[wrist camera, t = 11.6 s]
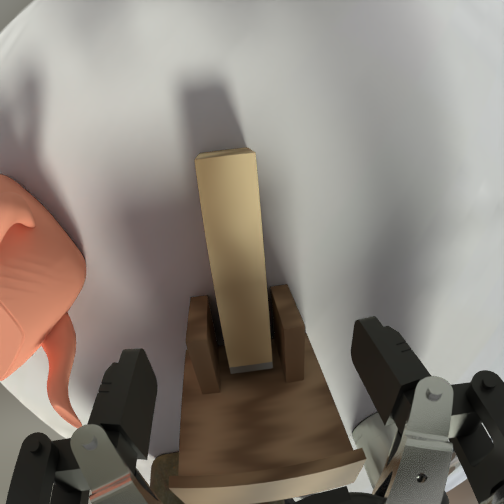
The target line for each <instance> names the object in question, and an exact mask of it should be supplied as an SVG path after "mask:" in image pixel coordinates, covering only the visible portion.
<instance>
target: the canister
mask: <svg viewBox="0 0 504 504" xmlns="http://www.w3.org/2000/svg"><path fill="white" fill-rule="evenodd" d="M178 471H179V452H176V453H170V454H164V455H160V456H158V457H157V458H156V459H155V460H154V461H153V463H152V467H151V479H150V487H151V489H152V490H153V491H154V493H155V494H156V495H157V497H158V498H159V499H160V500H161V502H162V503H163V504H185V503H184V502H183V501H182V500H181V499H179V498H178V497H177V496H176V495H175V494H174V493H173V492H172V491H171V490H170V489H169V476H178ZM255 504H285V502H284V499H283V500H277V501H270V502H263V503H255Z"/></svg>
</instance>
